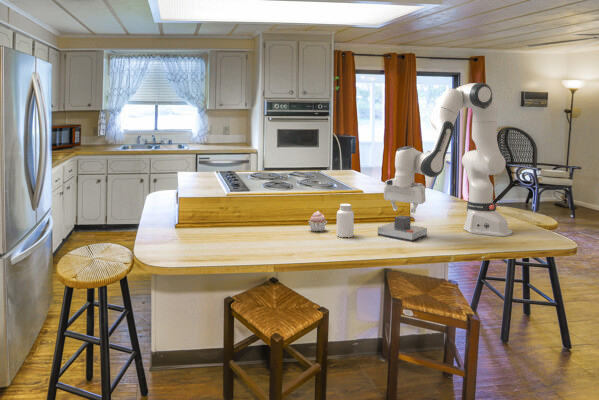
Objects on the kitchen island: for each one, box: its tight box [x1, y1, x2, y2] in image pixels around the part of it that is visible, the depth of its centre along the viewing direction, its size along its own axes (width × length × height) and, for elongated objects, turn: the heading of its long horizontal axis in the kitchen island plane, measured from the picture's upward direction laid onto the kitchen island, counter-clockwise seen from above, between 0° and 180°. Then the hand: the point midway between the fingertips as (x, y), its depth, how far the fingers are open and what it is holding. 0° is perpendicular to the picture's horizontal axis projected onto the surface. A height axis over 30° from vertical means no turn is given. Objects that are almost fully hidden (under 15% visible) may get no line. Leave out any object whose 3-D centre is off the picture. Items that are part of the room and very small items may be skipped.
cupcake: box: [307, 210, 328, 232], centre depth 237 cm, size 9×9×10 cm
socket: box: [377, 221, 428, 243], centre depth 228 cm, size 18×14×5 cm
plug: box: [394, 215, 412, 230], centre depth 227 cm, size 5×6×8 cm
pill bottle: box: [336, 203, 355, 238], centre depth 227 cm, size 8×8×15 cm
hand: (404, 211), depth 226 cm, fingers open, 8 cm apart
